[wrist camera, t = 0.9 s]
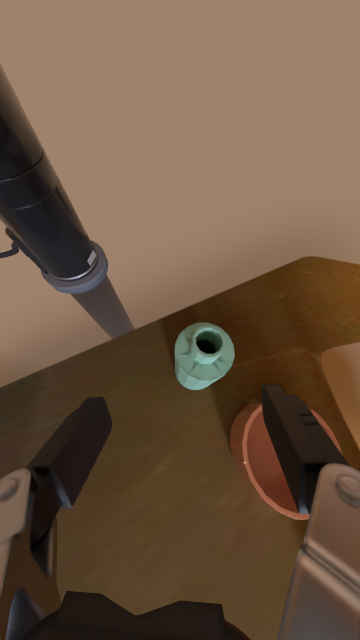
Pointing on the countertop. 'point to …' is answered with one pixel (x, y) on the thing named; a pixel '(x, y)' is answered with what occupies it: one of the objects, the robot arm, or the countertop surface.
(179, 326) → the countertop surface
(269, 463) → the terracotta bowl
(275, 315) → the countertop surface
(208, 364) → the bottle
